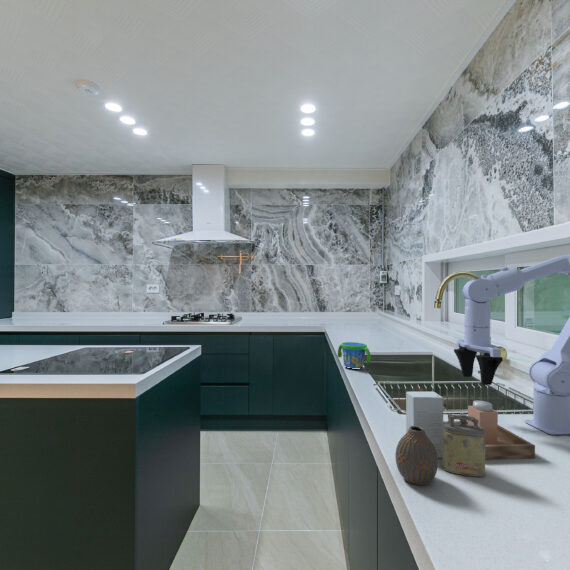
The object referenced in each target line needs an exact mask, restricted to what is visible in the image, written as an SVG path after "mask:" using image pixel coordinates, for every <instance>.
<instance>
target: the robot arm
mask: <svg viewBox="0 0 570 570" xmlns="http://www.w3.org/2000/svg"><path fill="white" fill-rule="evenodd" d="M557 273H558V274H563V275H565V274H566V275H567V276H568V277H569V278H570V254H565V255H560V256H555V257H552V258H549V259H546V260H544V261H542V262H538V263H535V264H534V265H530V266H528V267H525V268H523V269H522V268H521V269H517V268H514V267H509V268H508V267H507V266H505V267H501V268H499V271H497V272H494V273H491V274H488V275H487V274H482V275H480V278H478V279H473V280H472V279H471V280H469V281H467V282H466V283H465V284H464V286H463V287H462V290H461V294H462V297H463V298H464V300H465V301H464V304H465V305H464V306H465V307H464V337H463V338H464V339H456V348H454V349H453V353H454V354H455V355H456V357H457V359H458V363H459V366H460V370H461V374H462V377H465V378H472V377H473V371H474V364H475V360H477V362H478V365H479V371H480V382H481V385H484V386H491V385H493V384H492V383H493V381H494V378H495V374H496V371H497V370H498V368H499V366H500V365H501V364H502V362H504V361H503V359H504V357H501V355H502V350H501V348H498V347H496V346H494V345H491V301H492V300H493V298H497V297H500V296H503V295H507V294H509V293H513V292H516V291H519V290H521V289H522V288H523V287H524V286H525V283H526V282H530V281H533V280H536V279H540V278H543V277H546V276H550V275H554V274H557ZM478 353H480V354H478ZM528 375H529V378H530V379H531V381H533V382H534V385H533V405H532V406H533V407H532V408H533V409H532V410H533V411H532V412H533V415H532V416H533V417H532V419H525V420H524V421H523V422H524V423H525V424H528V425H530V426H532V427H533V428H536V429H537V430H540V431H542V432H544V433H546V434H548V435H555V436H556V435H570V316H569V317H568V319H567V321H566V322H565V325H564V326H563V328H562V329H561V331H560V333H559V334H558V336H557V338H556V340H555V342H554V343H553V345H552V347H551V349H549V350H547V351H545V352H544V353H541V356H540V357H539V359H538V360H536V361H534V362H533V363H532V364H531V365H530V367H529V370H528Z"/></svg>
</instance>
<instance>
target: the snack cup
mask: <svg viewBox="0 0 570 570" xmlns="http://www.w3.org/2000/svg"><path fill="white" fill-rule="evenodd" d="M365 355H367V356H366V364H369V363H371V361H372V355H371V352H370V350H369V348H368V346H367V344H366V343H361V342H354V341H352V342H351V341H350V342H349V341H348V342H347V341H346V342H342V343H340V345H339V346H338V349H337V357H338V358H342V359H343V365H344V366H346V367H350V368H361V367H362V368H363V367H364V361H365Z"/></svg>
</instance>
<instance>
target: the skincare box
mask: <svg viewBox="0 0 570 570" xmlns="http://www.w3.org/2000/svg"><path fill="white" fill-rule="evenodd" d="M405 397H406V399H405V405H406V406H405V407H406V408H405V409H406V410H405V411H406V412H405V413H406V414H405V418H406V419H405V421H406V422H405V427H406V429H405V434H406V433H407V431H408V430H409V428H410V427H411V426H418V427H421V428H423V429H424V431H425V433H426V435H427V437H428V438H429V439H430V441H431V442H432V444H433V445H434V447H435V450H436V453H437V457H438V459H443V421H444V397H443V396H441V395H440V394H438V393H437V392H435V391H406V393H405Z"/></svg>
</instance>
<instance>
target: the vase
mask: <svg viewBox="0 0 570 570" xmlns="http://www.w3.org/2000/svg"><path fill="white" fill-rule="evenodd" d="M395 464H396V468H397V471H398V472H399V474H400V475H401V477H402V478H403V479H404V480H405V481H407V482H408V483H409V484H412V485H416V486H424V485H428V484H430V482H432V481H433V479H434V478H435V476H436V475H437V472H438V468H439V467H438V466H439V458H438V457H437V453H436V450H435V447H434V445H433V444H432V442H431V441H430V439H429V438H428V437H427V435H426V433H425V431H424V429H423V428H421V427H418V426H411V427H410V428H409V430H408V431H407V433H406V432H405V433H404V434H403V436H402V437H400V440H399V441H398V443H397V445H396V448H395Z"/></svg>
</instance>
